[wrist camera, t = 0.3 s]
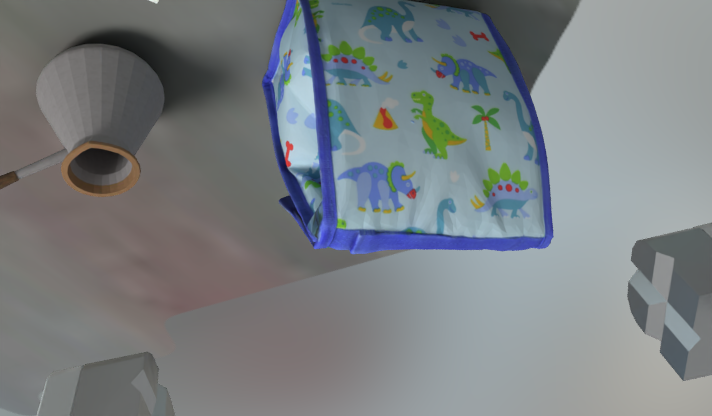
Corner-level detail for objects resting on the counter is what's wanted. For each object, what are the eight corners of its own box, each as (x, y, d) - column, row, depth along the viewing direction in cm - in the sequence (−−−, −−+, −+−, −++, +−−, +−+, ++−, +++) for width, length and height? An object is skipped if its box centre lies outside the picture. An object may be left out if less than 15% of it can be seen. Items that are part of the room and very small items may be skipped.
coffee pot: (148, 20, 63) (155, 130, 54) (173, 112, 72) (183, 221, 62) (-99, 52, 60) (-137, 175, 50) (-40, 145, 69) (-64, 264, 59)
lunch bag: (250, 102, 73) (291, 306, 57) (284, -38, 62) (347, 167, 45) (433, 117, 81) (514, 299, 65) (493, -5, 70) (610, 179, 54)
